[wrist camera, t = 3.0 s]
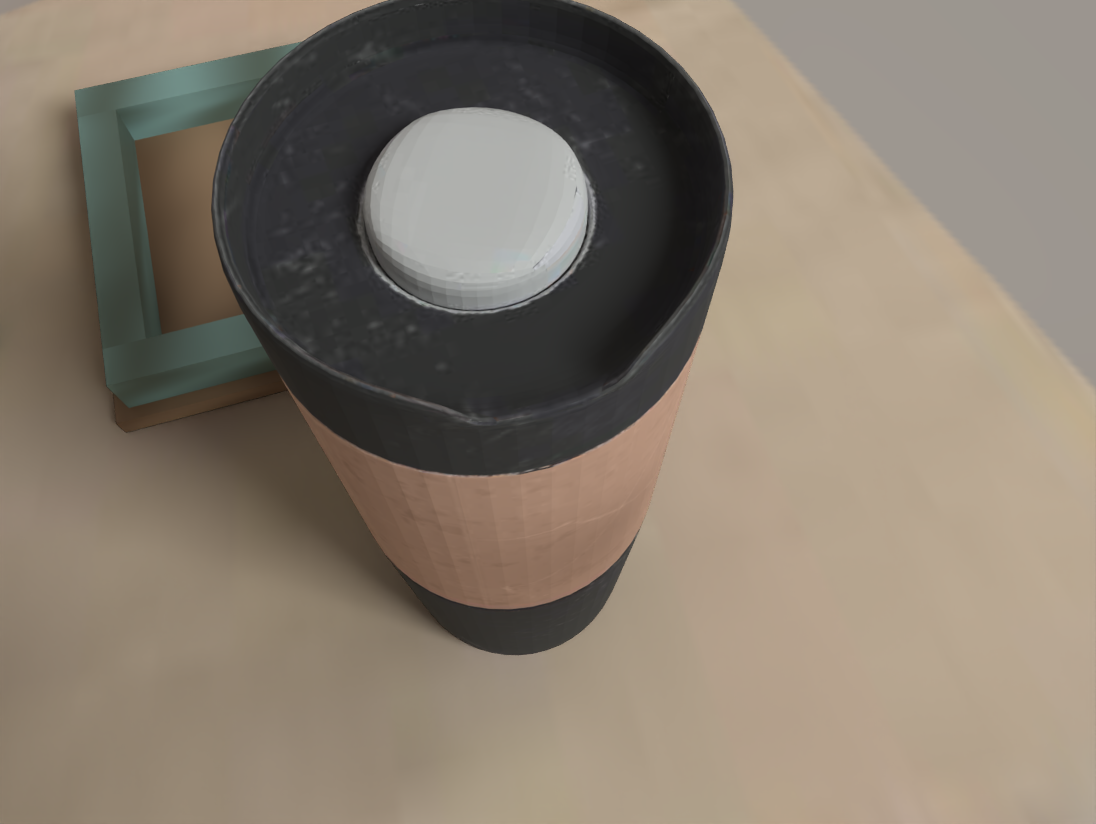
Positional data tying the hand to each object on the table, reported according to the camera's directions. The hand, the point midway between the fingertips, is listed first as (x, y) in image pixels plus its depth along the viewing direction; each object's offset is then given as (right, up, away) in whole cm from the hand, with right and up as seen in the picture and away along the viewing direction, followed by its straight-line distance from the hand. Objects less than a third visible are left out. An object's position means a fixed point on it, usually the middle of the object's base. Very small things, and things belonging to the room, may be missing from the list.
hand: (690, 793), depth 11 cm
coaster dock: (-12, +13, +25) cm, 31 cm away
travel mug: (-3, 0, +20) cm, 20 cm away
